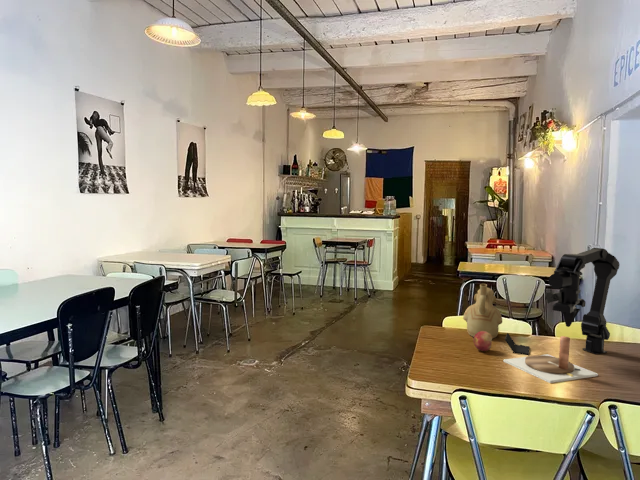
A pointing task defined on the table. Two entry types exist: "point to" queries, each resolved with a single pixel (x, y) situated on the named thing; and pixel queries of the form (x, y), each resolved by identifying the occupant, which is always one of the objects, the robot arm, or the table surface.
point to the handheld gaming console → (517, 346)
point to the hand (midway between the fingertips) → (567, 326)
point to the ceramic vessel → (483, 313)
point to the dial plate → (550, 377)
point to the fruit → (483, 341)
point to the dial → (553, 360)
